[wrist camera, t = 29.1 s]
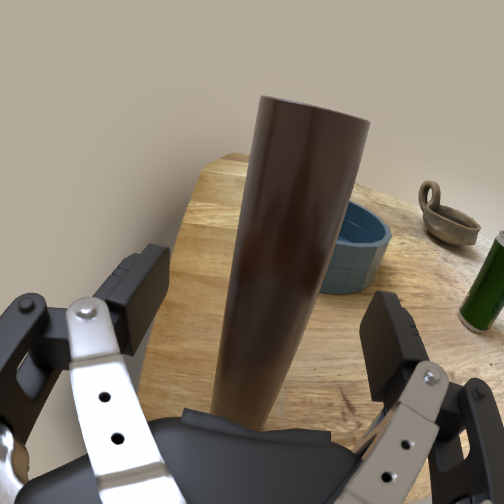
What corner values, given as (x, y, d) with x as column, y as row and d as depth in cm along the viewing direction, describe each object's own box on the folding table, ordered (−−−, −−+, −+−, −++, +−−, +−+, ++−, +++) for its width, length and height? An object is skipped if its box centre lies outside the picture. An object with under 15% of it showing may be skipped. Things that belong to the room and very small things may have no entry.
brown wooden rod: (200, 440, 16) (245, 92, 7) (218, 403, 18) (274, 97, 9) (250, 458, 15) (376, 123, 6) (264, 418, 18) (366, 119, 9)
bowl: (452, 259, 46) (473, 210, 41) (393, 215, 60) (408, 172, 55) (480, 256, 51) (498, 215, 46) (428, 218, 65) (441, 181, 60)
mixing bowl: (231, 266, 33) (240, 216, 30) (268, 214, 47) (275, 178, 44) (378, 310, 30) (400, 263, 27) (370, 245, 44) (383, 209, 41)
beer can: (454, 322, 30) (500, 236, 24) (458, 303, 34) (497, 225, 28) (486, 341, 27) (535, 258, 21) (487, 320, 31) (528, 244, 25)
